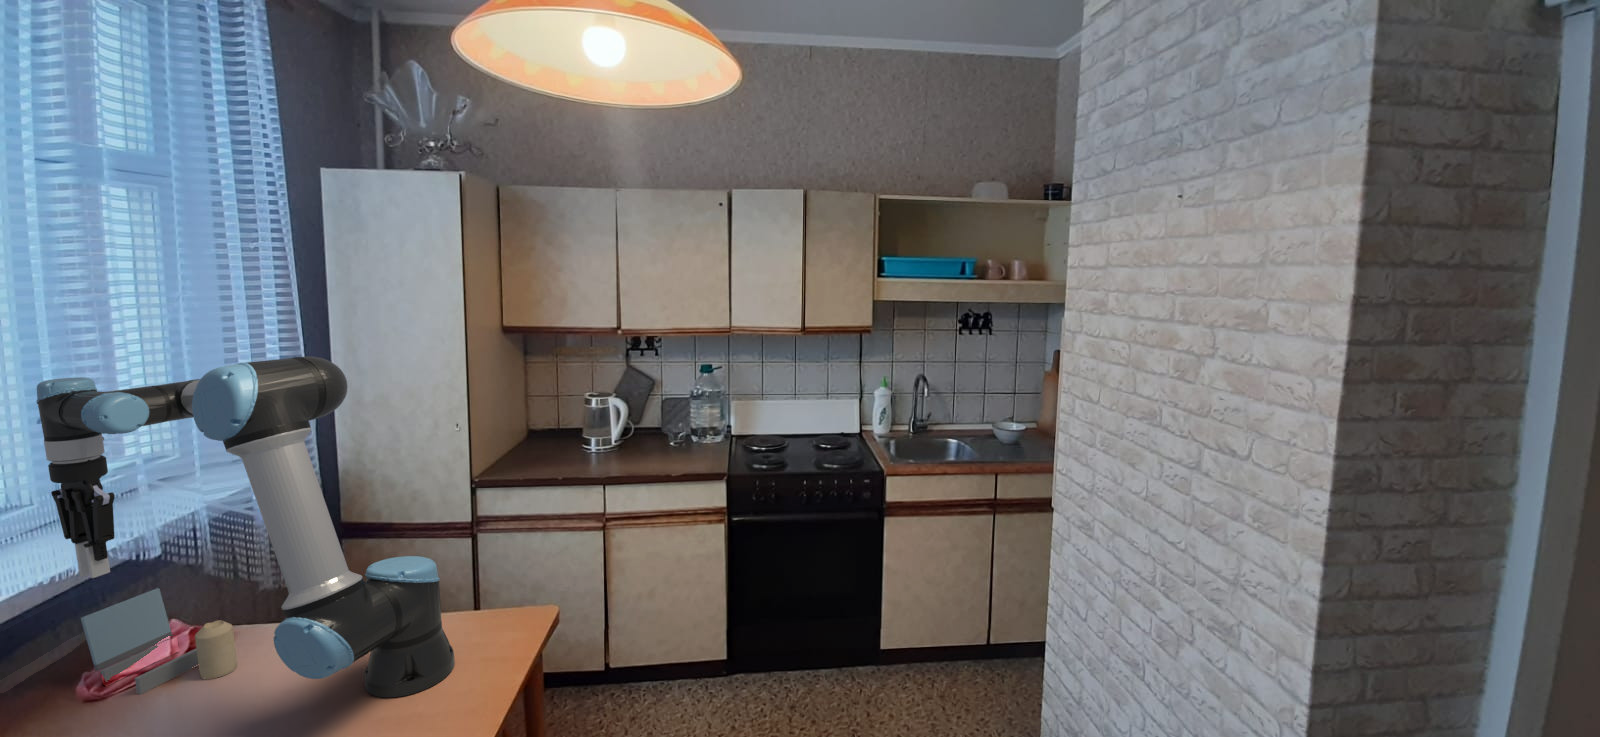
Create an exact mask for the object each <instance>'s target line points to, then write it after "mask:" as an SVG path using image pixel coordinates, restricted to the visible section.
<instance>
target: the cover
mask: <svg viewBox="0 0 1600 737" xmlns="http://www.w3.org/2000/svg"><path fill="white" fill-rule="evenodd" d="M168 618H169V617H168V615H167V611H166V607H165V604H164V601H163V597H162V593H161V589H160V587H156V588H155V589H151V590H149V591H146V592H144V593H141V594H138V595H135V596H133V597H131V598H128V599H125V600H123V601H121V602H118V603H115V604H113V605H110V606H108V607H105V608H103V609H100V610H97V611H95V612H92V613H90V614H87V615H84V616H82V617H80V621H81V624H82V627H83V631H84V634H85V638H86V642H87V646H88V649H89V652H90V656H91V660H92V664H93V667H94V671H95V672H98V671H99V672H100V670H103V669H105V668H107V667H109V666H111V665H114V664H116V663H118V662H120V661H122V660H125V659H127V658H129V657H131V656H133V655H135V654H138V653H140V652H142V651H144V650H146V649H149V648H151V647H153V646H155V644H156V645H157V643H158V642H159V641H161V640H162V639H164V638H166V637H168V636H173V632H172V630H171V626H170V622H169V619H168ZM173 637H174V636H173Z"/></svg>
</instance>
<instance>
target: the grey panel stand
mask: <svg viewBox="0 0 1600 737" xmlns="http://www.w3.org/2000/svg"><path fill="white" fill-rule="evenodd" d="M157 647H158V646H157V644H156V646H155V645H154V646H152V647H150V648H148V649H145V650H143V651H141V652H139V653H137V654H134V655H132V656H130V657H128V658H126V659H124V660H121V661H119V662H117V663H115V664H113V665H110V666H108V667H106V668H104V669H102V670H99V673H100V675H101V674H102V675H103V677H104V679H105V681H106V682H108V681H107V680H110V678H111V677H112V676H114V675H116V674H119V673H120V672H122V671H123V670H125V669H127V668H128V667H130V666H131V665H133V664H134V663H136V662H137V661H139V660H140V659H141V658H143V657H144V656H146V655H147V654H149V653H150V652H151V651H152V650H154V649H155V648H157ZM196 665H198V657H197V649H196V648H194V649H192V650H190V651H188V652H186V653H184V654H181V655H179V656H178V657H176V658H173V659H170V660H169V661H167V662H165V663H163V664H161V665H159V666H157V667H155V668H153V669H150V670H149V671H147V672H144V673H143V674H141V675H138V676H136V677H134V681H135V689H136V694H138V695H143V694H145V693H146V692H148V691H150V690H153V689H154V688H156V687H158V686H160V685H162V684H165V683H167V681H170V680H171V679H174V678H176V677H178V676H180V675H182V674H184V673H186V672H188V671H190V670H192V669H193V668H192V667H194V666H196ZM198 666H199V665H198ZM196 667H197V666H196ZM191 668H192V669H191ZM194 668H195V667H194ZM189 669H190V670H189ZM187 670H188V671H187ZM185 671H186V672H185ZM183 672H184V673H183ZM181 673H182V674H181ZM179 674H180V675H179ZM177 675H178V676H177Z"/></svg>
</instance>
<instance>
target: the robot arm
mask: <svg viewBox="0 0 1600 737" xmlns="http://www.w3.org/2000/svg"><path fill="white" fill-rule="evenodd" d="M347 393H348V381H347V377H346V375H345V373H344V372H343V370H342V369H341V368H340V367H339V366H338V365H337V364H335V363H333V362H332V361H330V360H328V359H325V358H322V357H317V356H305V355H304V356H296V357H295V356H294V357H289V358H279V359H269V360H257V361H249V362H248V361H247V362H239V363H235V364H230V365H229V364H228V365H225V366H222V367H221V366H220V367H216V368H213V369H211V370H209V371H207V372H206V373H205V374H204V375H203V376H202V377H200V378H196V379H189V380H184V381H178V382H176V381H175V382H169V383H163V384H158V385H148V386H140V387H132V388H125V389H118V390H116V389H115V390H112V391H99V390H98V388H97V387H96V384H95V381H94V380H93V379H92V378H90V377H65V378H64V377H63V378H54V379H48V380H47V379H45V380H43V381H41V382H39V383H38V384H37V385H36V397H37V398H36V401H35V402H36V404H37V407H38V413H39V418H40V422H41V423H40V425H41V428H42V434H43V446H44V451H45V458H46V461H47V462H50V463H49V464H48V466H47V467H48V472H49V479H50V481H51V482H52V483H54V484H60V488H59V489H54V490H52V491H51V492H50V493H51V494H50V495H51V497H52V498H53V501H54V502H55V504H56V505H55V506H56V510H57V513H58V517H59V518H58V519H59V522H60V525H61V529H62V530H61V531H62V533H63V537H64V539H65V540H71V543H72V544H74V548H75V554H76V560H77V566H78V571H79V572H78V573H79V576H80V577H84V576H85V577H86V576H88V575H89V578H90V579H94V578H95V579H96V578H98V577H101V576H103V575H107V574H109V573H111V568H110V567H111V566H110V563H109V562H110V560H109V555H108V554H109V553H108V547H107V542H108V541H109V542H110V541H112V540H114V539H115V517H114V501H115V498H116V497H115V493H114V492H105V491H104V490H103V489H104V486H103V485H102V482H101V480H100V479H101V478H102V477H104V476H106V475H107V474H108V473H109V470H108V462H107V457H106V456H104V455H103V454H104V453H105V444H104V441H105V437H104V436H103V435H104V434H107V435H117V434H118V435H120V434H121V435H123V434H129V433H132V432H134V431H135V432H136V430H138V429H140V428H141V427H147V426H151V425H157V424H158V425H159V424H162V423H166V422H172V421H173V422H174V421H179V420H184V419H191V418H193V420H194V423H195V425H196V427H197V429H198V430H199V431H200V432H201V433H203V436H205V437H206V438H208V439H209V440H212V441H218V442H220V441H221V442H222V443H223V445H224V448H225V451H226V453H229V454H231V455H234V456H236V457H239V458H240V459H241V460H242V463H243V466H244V470H245V471H246V474H247V478H248V481H249V483H250V486H251V489H252V492H253V495H254V497H255V501H256V502H257V506H258V509H259V511H260V516H261V517H262V520H263V523H264V526H265V529H266V531H267V534H268V537H269V540H270V543H271V546H272V548H273V551H274V554H275V557H276V560H277V562H278V565H279V569H280V572H281V574H282V577H283V580H284V582H285V586H286V588H287V592H288V596H287V597H286V599H285V600H284V602H283V604H282V605H281V610H282V613H283V616H284V619H283V621H281V622H280V623H279V624H278V625H277V627H275V629H274V633H273V634H274V636H273V645H274V648H275V651H276V653H277V655H278V658H280V660H281V662H282V663H284V664H285V666H286V667H287V668H288V669H289V670H290V671H292V672H293V673H296V674H297V675H299V676H300V677H303V678H306V679H310V680H311V679H312V680H321V679H326V678H329V677H330V676H332V675H334V674H335V673H338V672H339V671H341V670H344V669H347V668H348V667H350V666H351V665H353V663H355V662H356V661H358V660H359V659H361V658H363V657H364V656H366V655H368V654H370V655H369V658H368V663H367V667H366V668H365V671H364V676H363V677H364V688H365V690H366V692H367V693H369V694H370V695H371V696H375V697H379V698H399V697H404V696H409V695H412V694H413V695H414V694H416V693H419V692H422V691H424V690H427V689H430V688H431V687H433V686H435V685H437V684H438V683H440V682H442V681H443V680H444V679H446V678H447V677H448V676H449V675H450V674H451V672H452V671H453V669H454V667H455V663H456V660H455V651H454V648H453V647H452V646H451V644H450V640H449V639H448V637H447V634H446V633H445V631H444V629H443V624H442V622H443V621H442V608H441V594H440V593H441V592H440V591H441V589H440V588H441V587H440V580H441V578H440V576H439V574H438V568H437V567H438V566H437V563H436V562H435V561H434V560H433V559H432V558H429V557H424V556H420V555H419V556H416V555H408V556H407V555H406V556H405V555H404V556H396V557H395V556H394V557H391V558H390V557H389V558H385V559H382V560H379V561H376V562H373V563H372V564H370V565H368V567H367V568H366V570H365V574H364V576H365V579H366V580H364V578H363V576H362V575H361V574H359V573H355V572H352V571H351V570H349V567H348V564H347V561H346V559H345V555H344V553H343V550H342V547H341V544H340V541H339V538H338V535H337V532H336V529H335V527H334V524H333V521H332V518H331V515H330V512H329V508H328V506H327V503H326V500H325V498H324V494H323V491H322V489H321V486H320V483H319V481H318V477H317V474H316V471H315V468H314V465H313V463H312V459H311V458H310V455H309V451H308V448H307V445H306V442H305V441H306V438H307V437H308V435H310V433H311V431H312V428H311V424H310V421H313V420H316V419H321V418H323V417H325V416H327V415H329V414H331V413H332V412H334V411H336V410H337V409H338V408H339V407H340V406H341V405H342V404H343V402H344V400H345V398H346V397H347Z"/></svg>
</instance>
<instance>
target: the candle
mask: <svg viewBox="0 0 1600 737" xmlns="http://www.w3.org/2000/svg"><path fill="white" fill-rule="evenodd" d="M194 640H195V649H197V657H198V664H199V665H198V669H199V670H198V672H199V677H200V676H201V677H200V678H201V679H202V678H205V679H204V680H213V679H212V678H215V679H218V678H217V677H219V678H222V677H224V675H225V676H227V675H229V674H230V673H232V672H234V671H235V670H236V669H237V667H238V660H237V659H238V658H237V651H236V650H237V649H236V644H235V635H234V627H233V625H232V624H231V623H229V622H227V621H224V620H221V619H220V620H218V619H217V620H215V621H212V622H206V623H205V624H204V625H203V626H202V627H201V628H200V629H199V630H198V631H197V632H196V633H195V635H194ZM221 676H222V677H221Z"/></svg>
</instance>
